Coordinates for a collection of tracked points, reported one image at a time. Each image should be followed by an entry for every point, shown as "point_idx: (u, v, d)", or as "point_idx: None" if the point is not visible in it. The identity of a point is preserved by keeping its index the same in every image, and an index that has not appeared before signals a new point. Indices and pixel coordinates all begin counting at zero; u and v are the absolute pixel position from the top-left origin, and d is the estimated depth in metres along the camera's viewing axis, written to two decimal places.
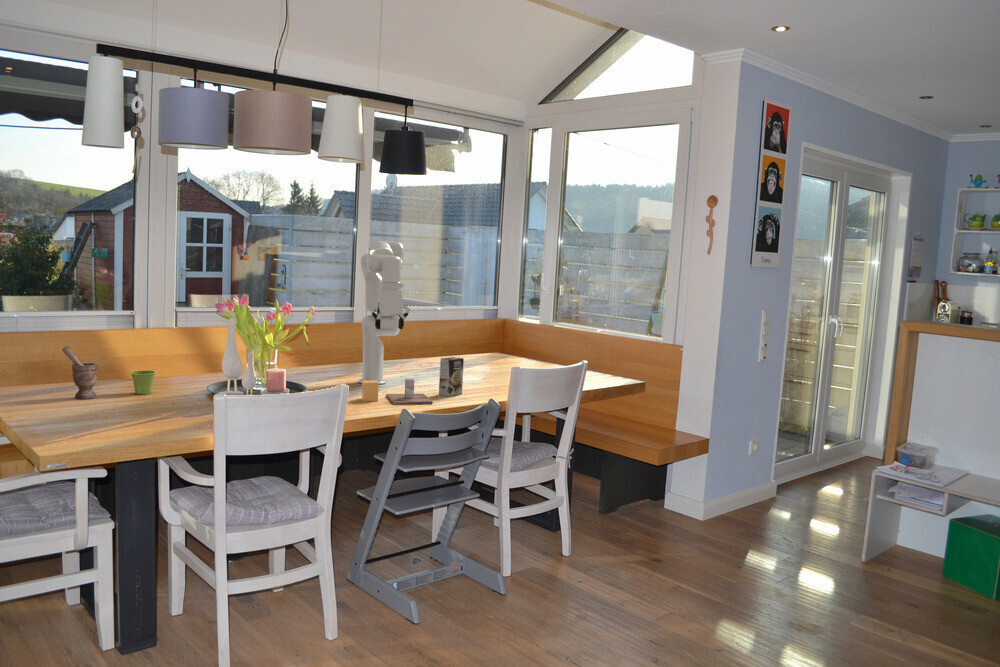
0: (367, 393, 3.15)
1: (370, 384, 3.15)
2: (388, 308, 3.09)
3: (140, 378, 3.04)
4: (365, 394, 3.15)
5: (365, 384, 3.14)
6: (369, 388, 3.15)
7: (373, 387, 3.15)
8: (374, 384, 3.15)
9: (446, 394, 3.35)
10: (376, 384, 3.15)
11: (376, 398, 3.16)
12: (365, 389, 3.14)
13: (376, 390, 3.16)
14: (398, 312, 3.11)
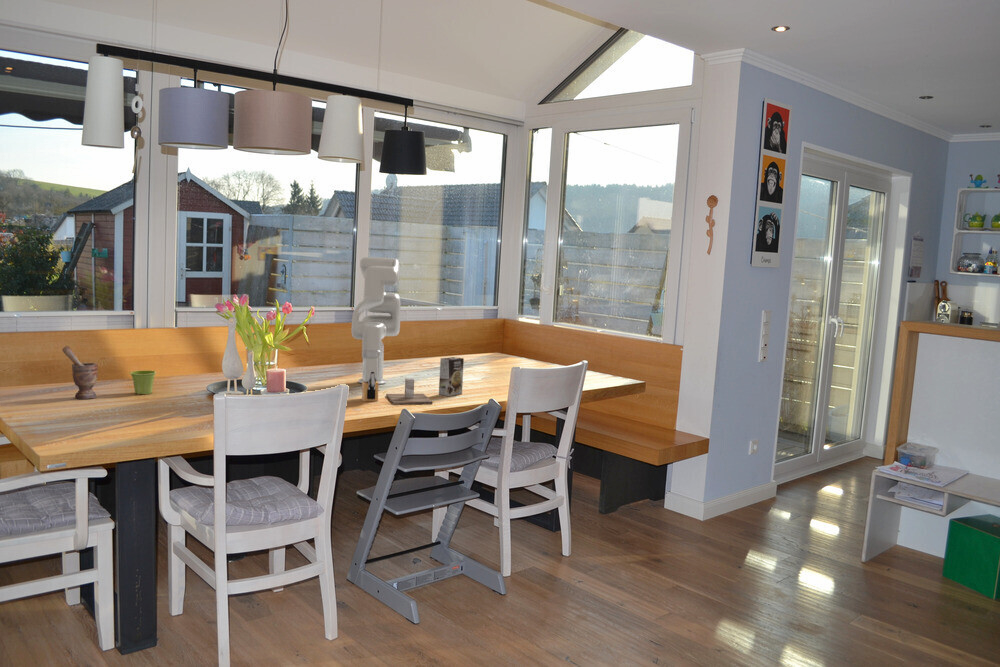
0: None
1: None
2: None
3: (140, 378, 3.04)
4: (365, 394, 3.15)
5: (365, 384, 3.14)
6: None
7: None
8: None
9: (446, 394, 3.35)
10: (376, 384, 3.15)
11: (376, 398, 3.16)
12: (365, 389, 3.14)
13: (376, 390, 3.16)
14: None
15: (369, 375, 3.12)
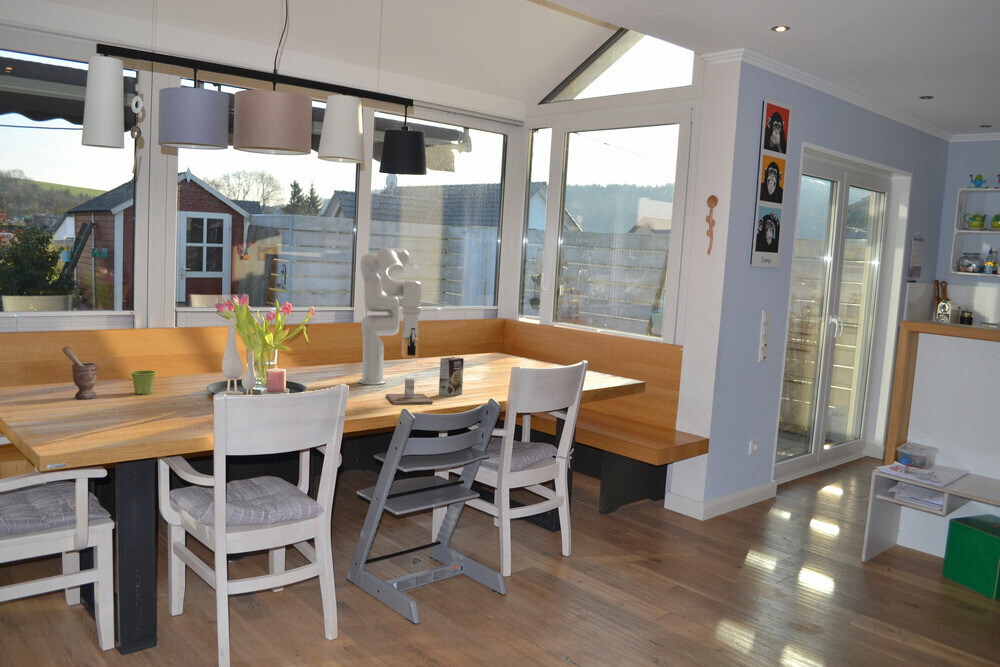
0: (407, 349, 3.16)
1: (410, 340, 3.16)
2: None
3: (140, 378, 3.04)
4: (405, 350, 3.16)
5: (405, 340, 3.15)
6: None
7: None
8: None
9: (446, 394, 3.35)
10: (416, 341, 3.16)
11: (416, 355, 3.17)
12: (405, 345, 3.15)
13: (416, 347, 3.17)
14: None
15: (410, 331, 3.13)
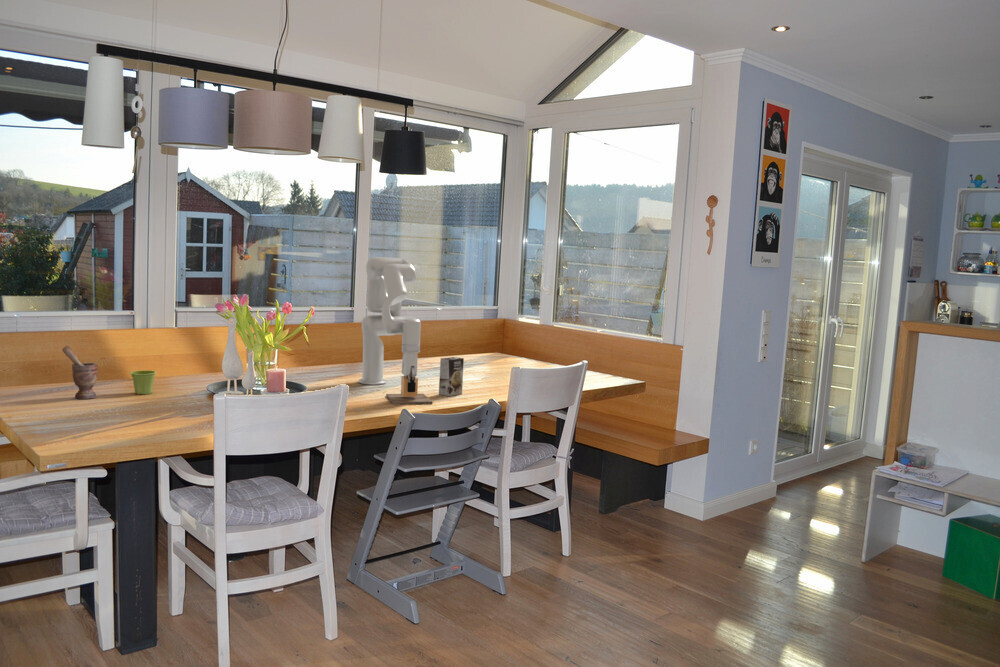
0: (407, 389, 3.18)
1: None
2: None
3: (140, 378, 3.04)
4: (405, 390, 3.17)
5: (405, 380, 3.17)
6: None
7: None
8: None
9: (446, 394, 3.35)
10: None
11: (415, 394, 3.19)
12: (405, 385, 3.17)
13: None
14: None
15: (409, 369, 3.15)
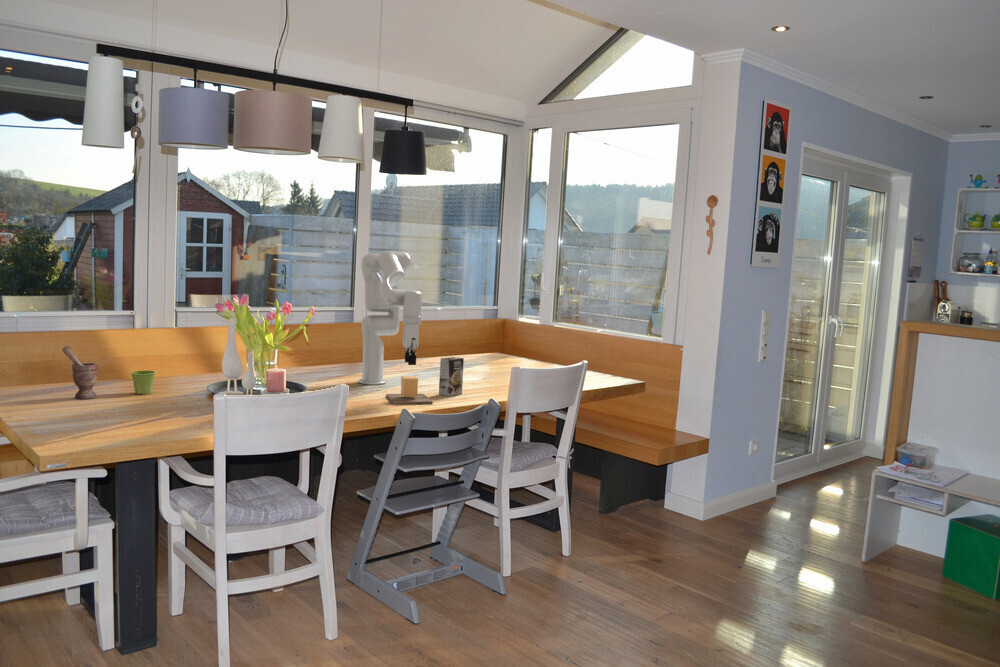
0: (407, 389, 3.18)
1: (410, 380, 3.18)
2: None
3: (140, 378, 3.04)
4: (405, 390, 3.17)
5: (405, 380, 3.17)
6: (409, 384, 3.18)
7: (413, 383, 3.18)
8: (414, 380, 3.18)
9: (446, 394, 3.35)
10: (415, 380, 3.18)
11: (415, 394, 3.19)
12: (405, 385, 3.17)
13: (415, 386, 3.19)
14: None
15: (410, 341, 3.14)
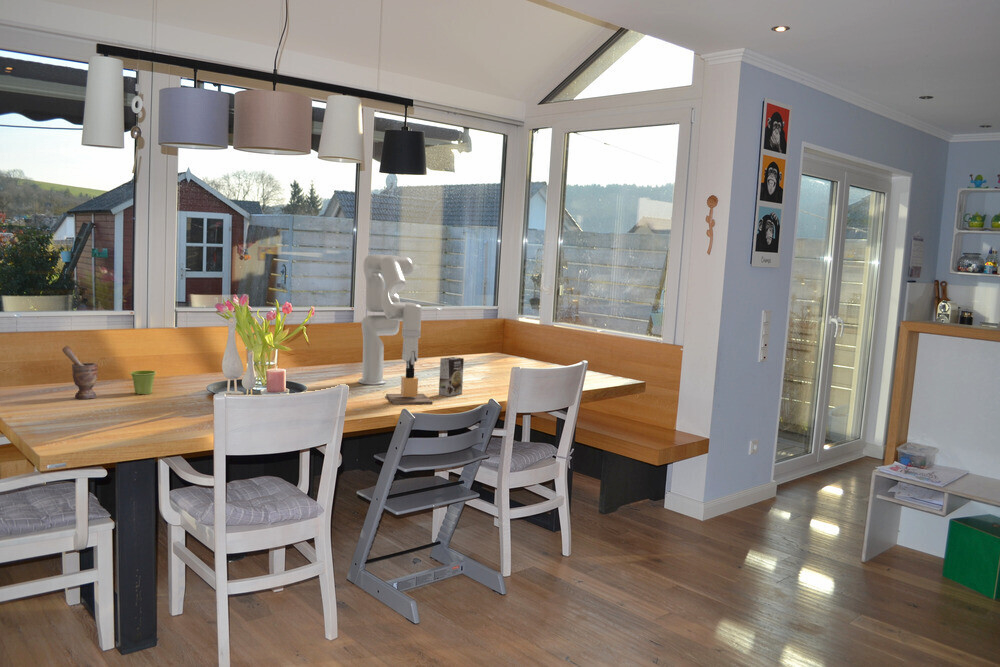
0: (407, 389, 3.18)
1: (410, 380, 3.18)
2: None
3: (140, 378, 3.04)
4: (405, 390, 3.17)
5: (405, 380, 3.17)
6: (409, 384, 3.18)
7: (413, 383, 3.18)
8: (414, 380, 3.18)
9: (446, 394, 3.35)
10: (415, 380, 3.18)
11: (415, 394, 3.19)
12: (405, 385, 3.17)
13: (415, 386, 3.19)
14: None
15: (410, 354, 3.14)
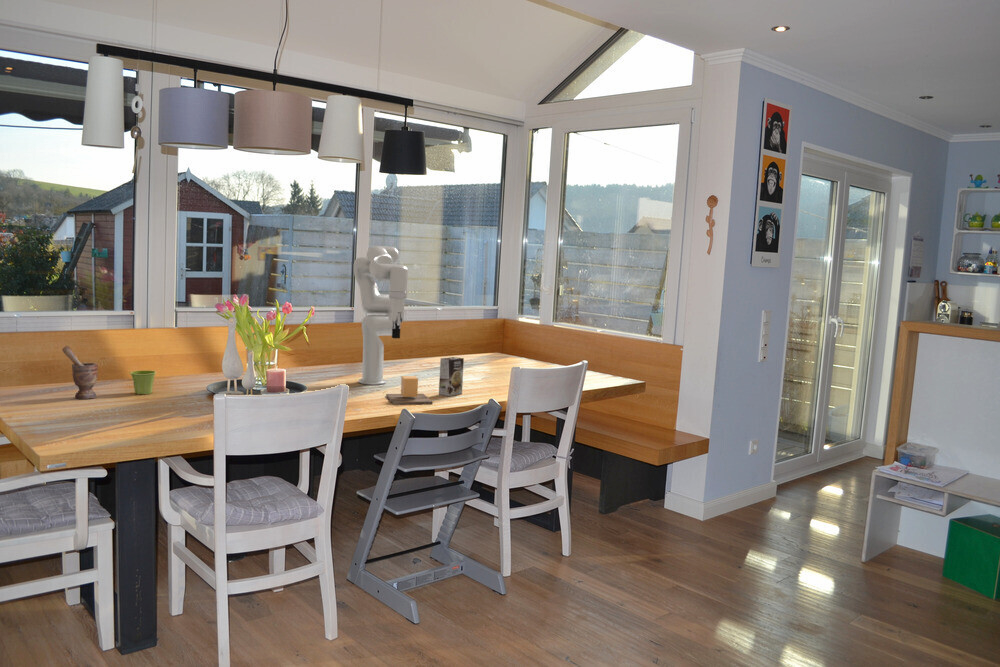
0: (407, 389, 3.18)
1: (410, 380, 3.18)
2: None
3: (140, 378, 3.04)
4: (405, 390, 3.17)
5: (405, 380, 3.17)
6: (409, 384, 3.18)
7: (413, 383, 3.18)
8: (414, 380, 3.18)
9: (446, 394, 3.35)
10: (415, 380, 3.18)
11: (415, 394, 3.19)
12: (405, 385, 3.17)
13: (415, 386, 3.19)
14: None
15: (396, 315, 3.21)
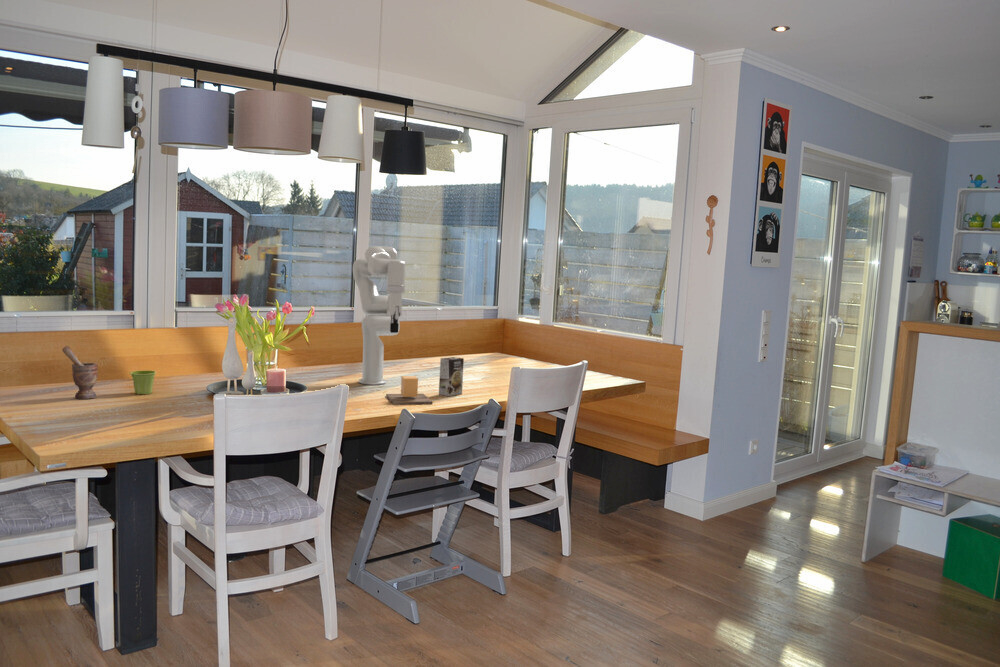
0: (407, 389, 3.18)
1: (410, 380, 3.18)
2: None
3: (140, 378, 3.04)
4: (405, 390, 3.17)
5: (405, 380, 3.17)
6: (409, 384, 3.18)
7: (413, 383, 3.18)
8: (414, 380, 3.18)
9: (446, 394, 3.35)
10: (415, 380, 3.18)
11: (415, 394, 3.19)
12: (405, 385, 3.17)
13: (415, 386, 3.19)
14: None
15: (394, 309, 3.22)
